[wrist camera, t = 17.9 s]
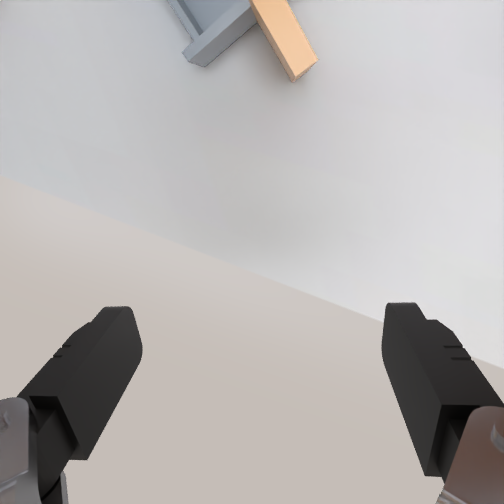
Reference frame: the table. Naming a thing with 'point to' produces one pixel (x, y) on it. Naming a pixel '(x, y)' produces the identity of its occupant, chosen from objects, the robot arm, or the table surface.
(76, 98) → the table surface
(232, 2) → the grey box
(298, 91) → the table surface
